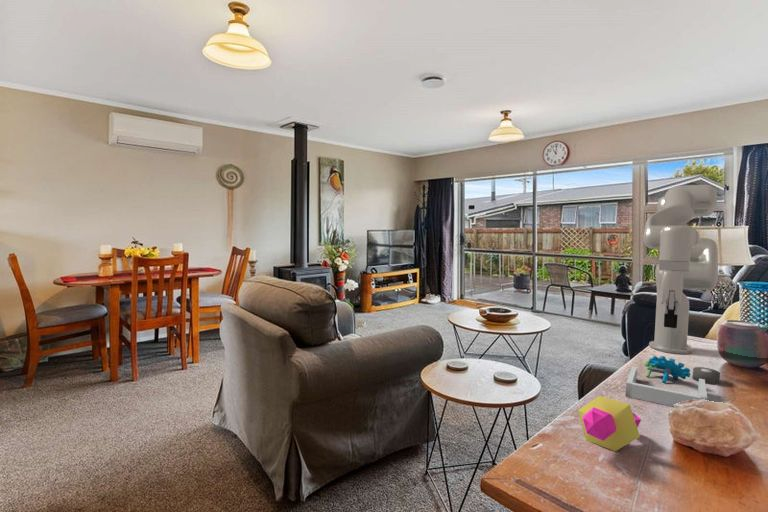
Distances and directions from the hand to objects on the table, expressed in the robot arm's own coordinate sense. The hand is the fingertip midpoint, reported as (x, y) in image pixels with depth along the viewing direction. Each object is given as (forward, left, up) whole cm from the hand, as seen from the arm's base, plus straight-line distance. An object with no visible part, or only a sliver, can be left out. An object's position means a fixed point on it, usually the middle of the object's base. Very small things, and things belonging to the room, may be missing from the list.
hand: (670, 327), depth 122 cm
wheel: (+3, +9, -13) cm, 17 cm away
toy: (+58, -8, -14) cm, 60 cm away
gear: (+10, 0, -14) cm, 17 cm away
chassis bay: (+22, 0, -13) cm, 26 cm away
